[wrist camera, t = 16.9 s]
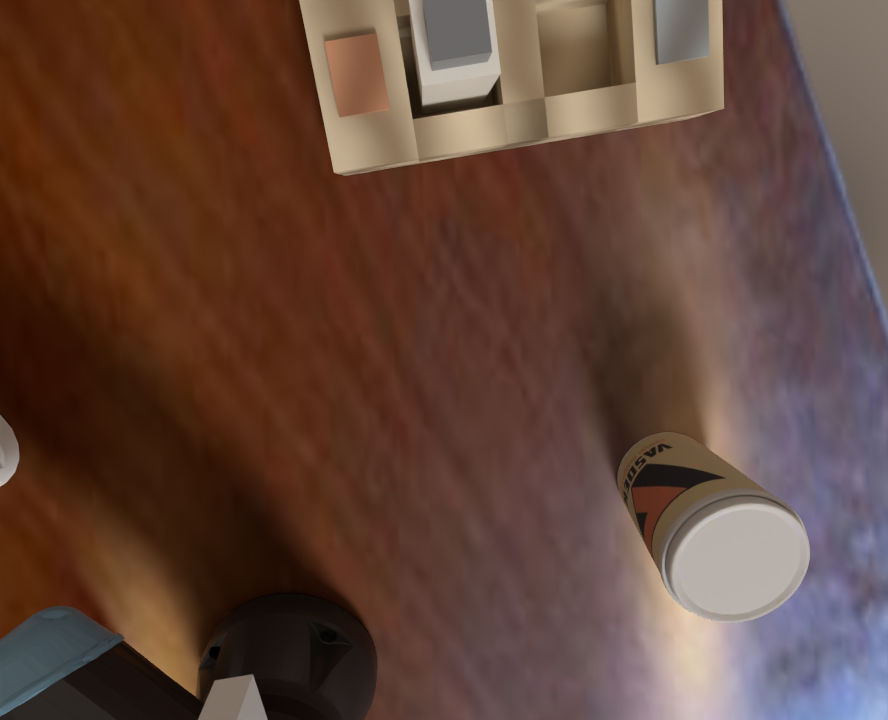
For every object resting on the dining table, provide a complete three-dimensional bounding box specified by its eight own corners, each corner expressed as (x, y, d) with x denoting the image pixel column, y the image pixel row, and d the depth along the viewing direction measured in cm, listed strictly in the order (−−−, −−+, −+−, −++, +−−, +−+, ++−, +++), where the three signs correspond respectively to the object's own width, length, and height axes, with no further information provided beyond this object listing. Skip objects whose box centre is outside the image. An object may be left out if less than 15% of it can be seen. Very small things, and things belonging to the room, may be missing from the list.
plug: (422, 114, 38) (421, 78, 26) (412, 48, 37) (407, -19, 25) (481, 104, 38) (506, 64, 26) (473, 38, 37) (495, -34, 25)
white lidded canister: (645, 402, 45) (722, 474, 33) (741, 450, 46) (846, 534, 35) (585, 497, 47) (637, 595, 36) (678, 540, 48) (757, 647, 37)
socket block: (344, 175, 39) (333, 172, 34) (313, 15, 37) (295, -16, 31) (687, 119, 39) (727, 107, 34) (681, -47, 36) (724, -88, 31)
